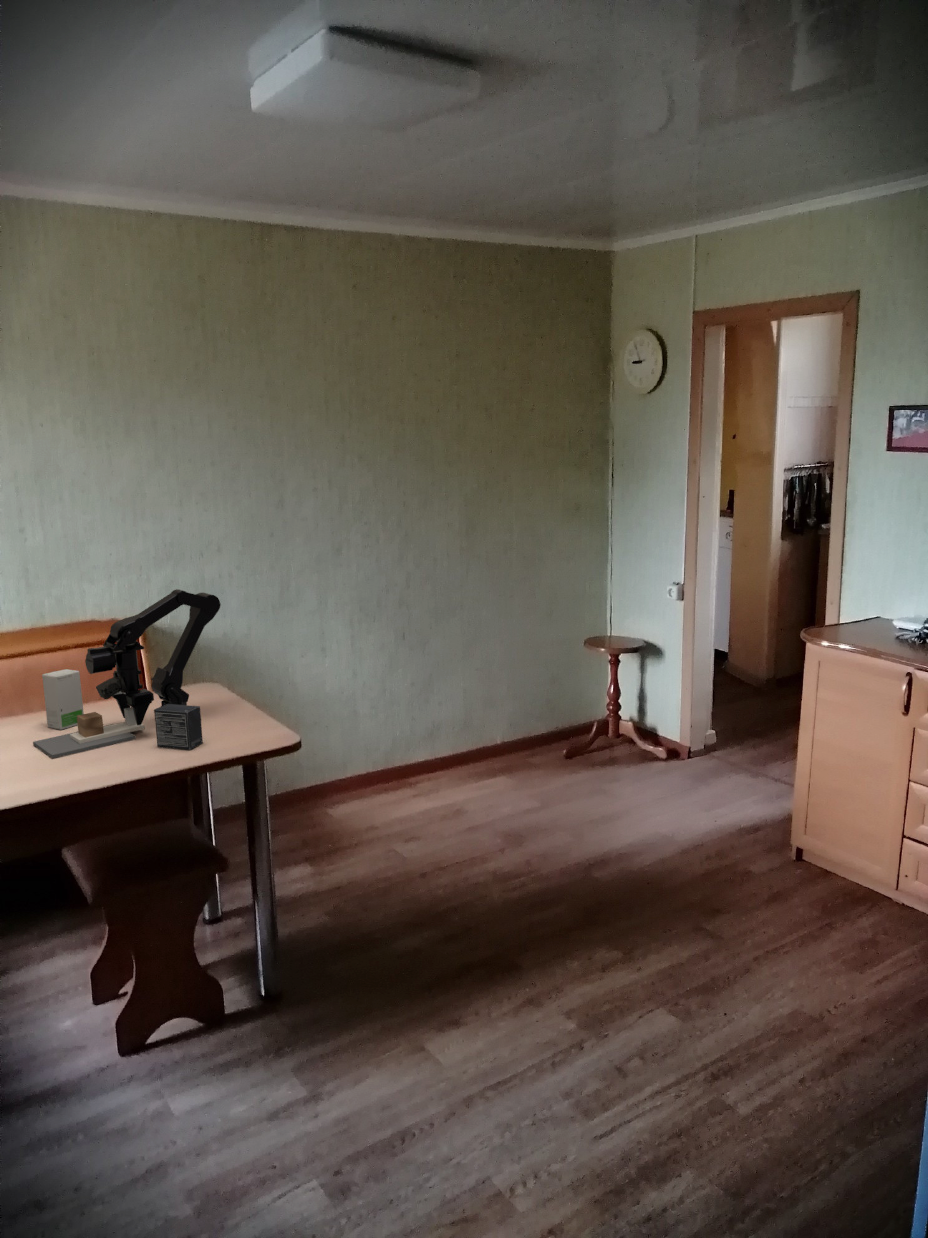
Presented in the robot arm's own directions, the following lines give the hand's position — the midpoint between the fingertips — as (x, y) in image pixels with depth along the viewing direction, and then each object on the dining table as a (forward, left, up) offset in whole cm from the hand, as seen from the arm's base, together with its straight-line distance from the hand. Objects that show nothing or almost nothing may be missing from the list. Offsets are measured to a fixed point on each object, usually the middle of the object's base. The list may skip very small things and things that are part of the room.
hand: (132, 721), depth 269 cm
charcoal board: (+8, +11, -3) cm, 14 cm away
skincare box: (+23, -2, -3) cm, 23 cm away
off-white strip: (+4, +6, -2) cm, 7 cm away
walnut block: (+7, +9, -1) cm, 12 cm away
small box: (-19, +9, -3) cm, 22 cm away
